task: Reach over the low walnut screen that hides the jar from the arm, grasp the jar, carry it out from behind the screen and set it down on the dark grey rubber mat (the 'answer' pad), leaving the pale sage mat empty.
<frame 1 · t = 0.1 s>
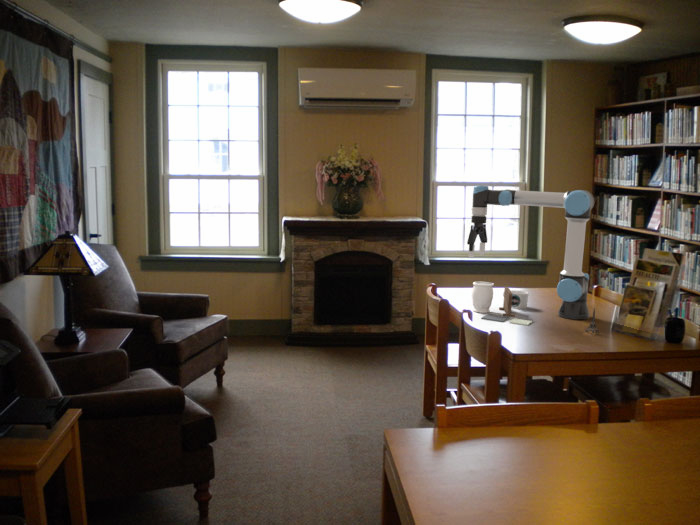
hand: (476, 256, 370), 28 cm above the table, fingers open, 13 cm apart
mug: (514, 307, 384), on the table
eiffel tower figurine: (590, 334, 329), on the table
jar: (481, 311, 368), on the table
sage mat: (520, 322, 345), on the table
grey mat: (495, 318, 352), on the table
screen: (506, 312, 367), on the table
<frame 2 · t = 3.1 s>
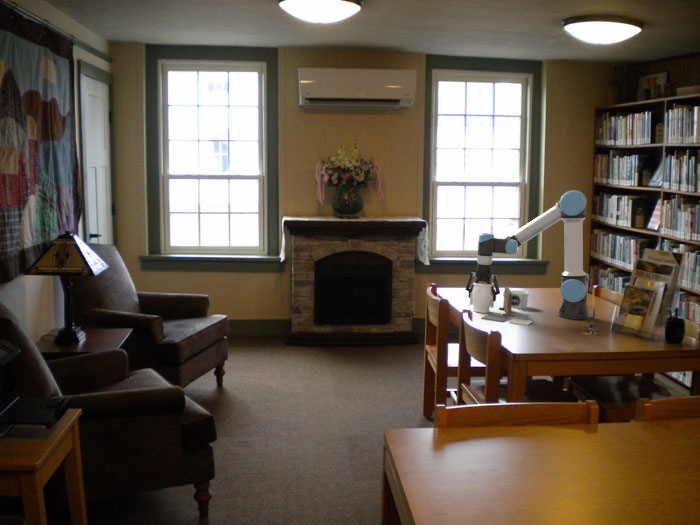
hand: (481, 305, 367), 3 cm above the table, fingers closed on jar, 10 cm apart
jar: (481, 311, 368), on the table, touching gripper
everything else where it was.
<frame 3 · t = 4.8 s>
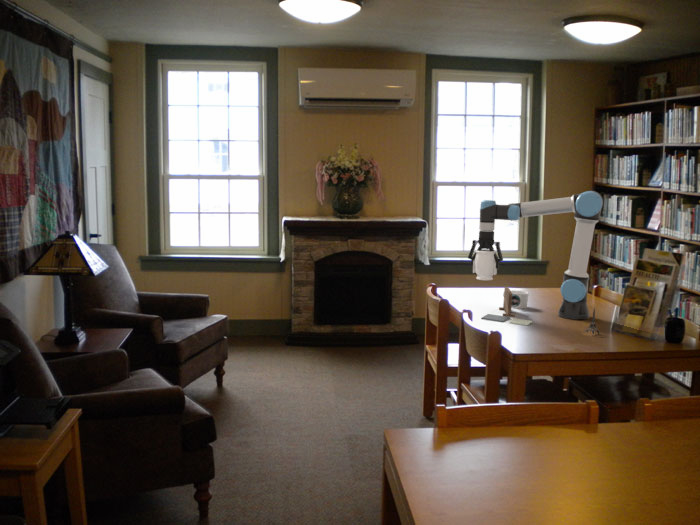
hand: (484, 273, 365), 20 cm above the table, fingers closed on jar, 10 cm apart
jar: (484, 279, 365), point 17 cm above the table, touching gripper
everything else where it was.
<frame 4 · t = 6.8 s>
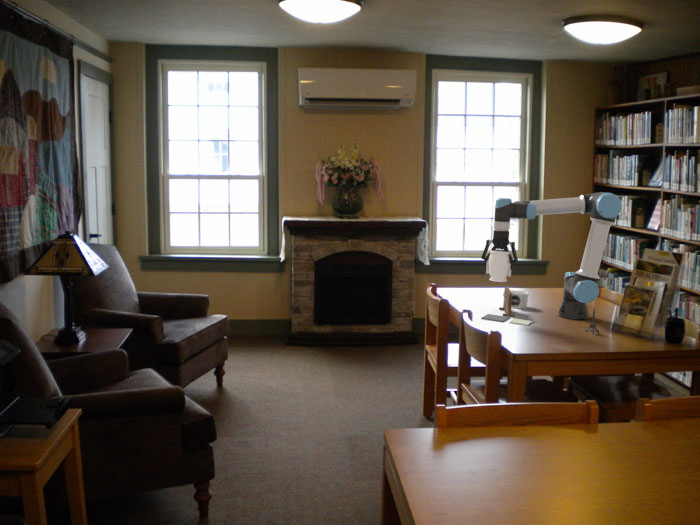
hand: (498, 274, 349), 22 cm above the table, fingers closed on jar, 10 cm apart
jar: (498, 281, 349), point 19 cm above the table, touching gripper
everything else where it was.
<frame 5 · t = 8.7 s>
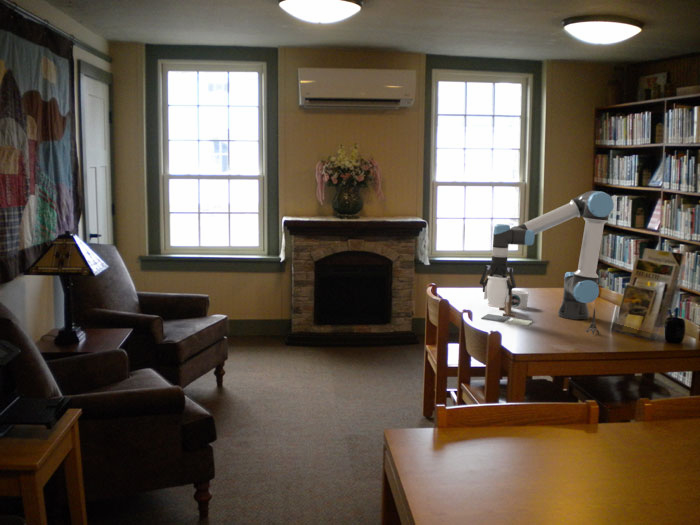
hand: (496, 300, 351), 9 cm above the table, fingers closed on jar, 10 cm apart
jar: (496, 306, 351), point 6 cm above the table, touching gripper
everything else where it was.
when the fingers open (5 cm above the table, at t = 10.3 s): jar drops 1 cm, resting on grey mat.
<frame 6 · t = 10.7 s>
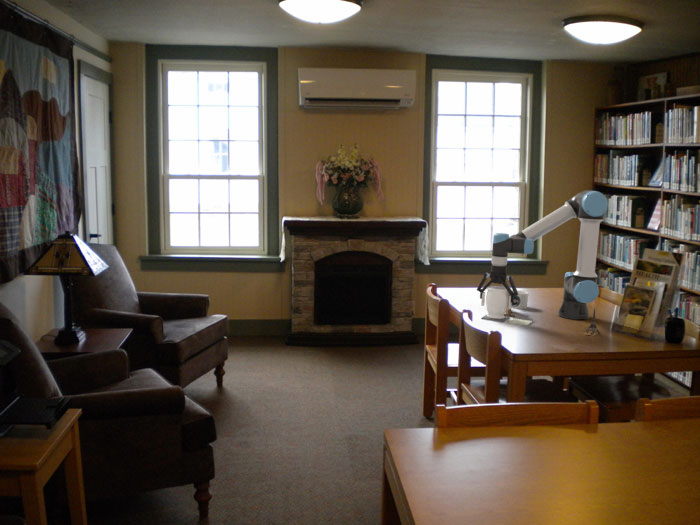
hand: (496, 307, 351), 6 cm above the table, fingers open, 13 cm apart
jar: (495, 317, 352), resting on grey mat
everything else where it was.
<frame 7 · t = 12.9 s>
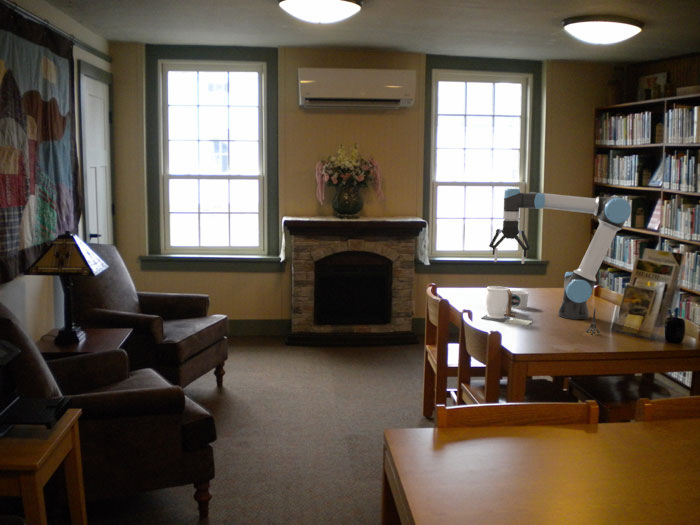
hand: (509, 262, 354), 27 cm above the table, fingers open, 13 cm apart
nothing on the table moved.
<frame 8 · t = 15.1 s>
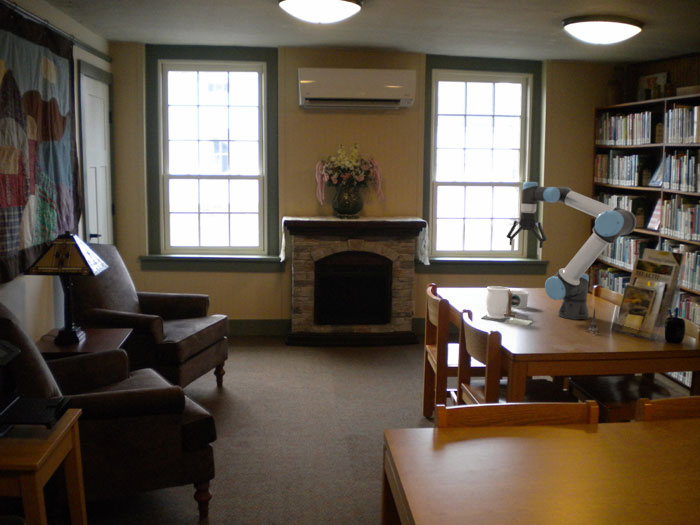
hand: (525, 253, 368), 31 cm above the table, fingers open, 13 cm apart
nothing on the table moved.
at the end: jar inside the target area on the grey mat (0.2 cm from its centre), point 0.4 cm above the grey mat's base; jar tilted 0°; the gripper is holding nothing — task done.
